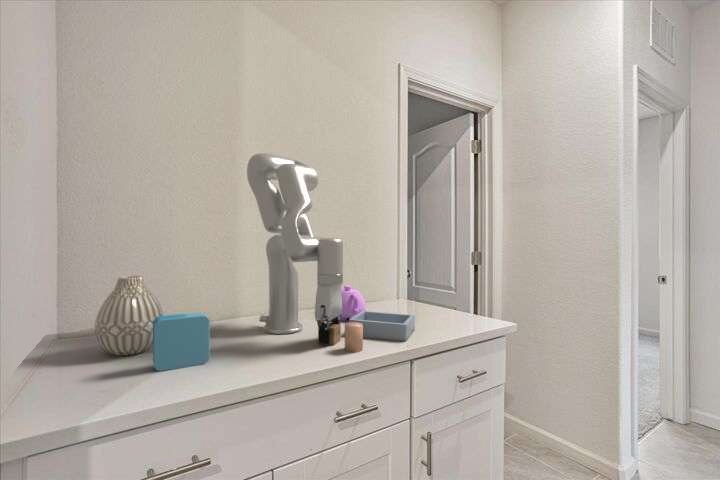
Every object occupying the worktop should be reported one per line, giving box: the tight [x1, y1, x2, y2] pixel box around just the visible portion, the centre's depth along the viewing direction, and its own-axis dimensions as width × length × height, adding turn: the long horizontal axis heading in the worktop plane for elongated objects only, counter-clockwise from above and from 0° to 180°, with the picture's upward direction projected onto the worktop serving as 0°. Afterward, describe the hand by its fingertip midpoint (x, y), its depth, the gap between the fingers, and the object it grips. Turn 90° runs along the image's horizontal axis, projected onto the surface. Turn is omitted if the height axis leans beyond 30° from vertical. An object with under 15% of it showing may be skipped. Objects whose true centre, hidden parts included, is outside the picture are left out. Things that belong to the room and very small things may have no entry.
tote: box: [348, 310, 416, 342], centre depth 123 cm, size 18×14×5 cm
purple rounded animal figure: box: [340, 285, 367, 322], centre depth 145 cm, size 20×14×12 cm
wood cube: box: [317, 322, 342, 346], centre depth 111 cm, size 5×5×5 cm
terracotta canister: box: [344, 322, 364, 353], centre depth 105 cm, size 5×5×7 cm
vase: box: [94, 275, 165, 356], centre depth 101 cm, size 16×16×20 cm
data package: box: [152, 311, 211, 372], centre depth 91 cm, size 12×4×12 cm, turn 122°
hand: (329, 339), depth 111 cm, fingers open, 7 cm apart
